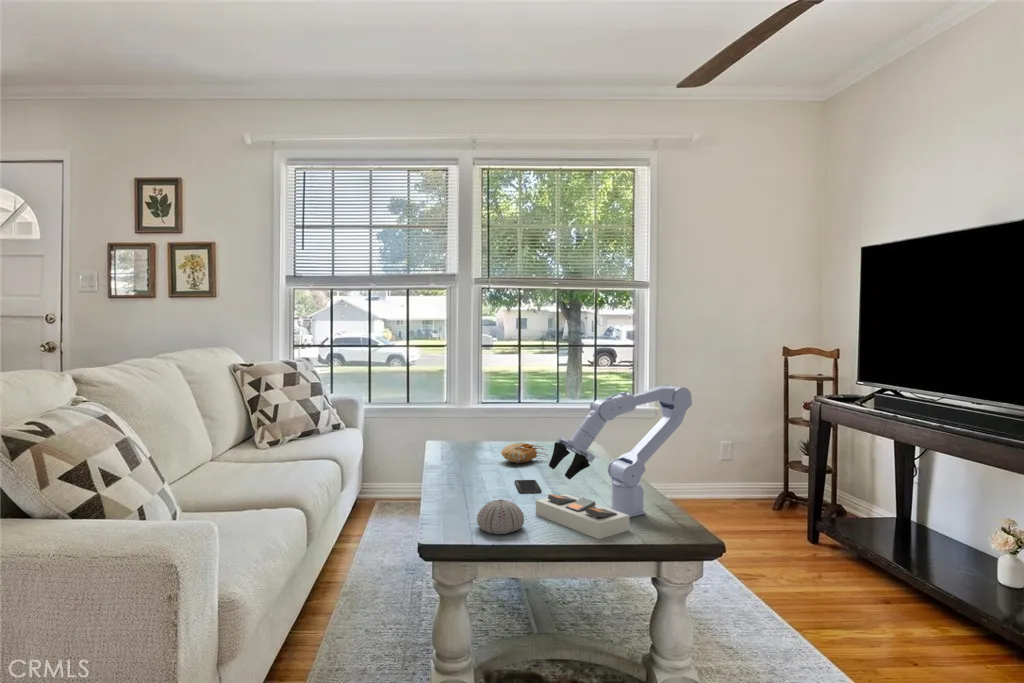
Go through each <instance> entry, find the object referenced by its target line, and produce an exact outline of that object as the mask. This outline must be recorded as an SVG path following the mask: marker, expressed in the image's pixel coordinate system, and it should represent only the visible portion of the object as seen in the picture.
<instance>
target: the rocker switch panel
mask: <svg viewBox="0 0 1024 683" xmlns="http://www.w3.org/2000/svg"><path fill="white" fill-rule="evenodd" d="M559 496H567V497H570V498H573V499H576V500H579V499H580V498H579V497H576V496H573V495H571V494H566V493H563V494H560V495H559ZM572 503H573V502H572ZM569 504H571V503H567V504H565V503H558V502H555V501H552V500H550V499H548V497H545V498H541V499H536V500H535V515H537V516H538V517H541V518H544V519H546V520H549V521H551V522H554V523H557V524H558V525H561V526H564V527H566V528H569V529H572V530H574V531H576V532H579V533H582V534H584V535H587V536H589V537H590V538H595V539H597V540H601V539H604V538H608V537H612V536H615V535H618V534H621V533H625V532H628V531H630V518H629V515H627V514H624V513H621V512H618V511H615V510H612V508H608V507H607V506H603V505H600V504H597V503H595V504H596V505H595V506H594V507H592V508H597V509H606V510H609V511H612V512H614V513H617V515H615V516H611V517H607V518H605V517H597V516H595V515H592V514H589V513H586V510H585V511H581V512H575V511H572V510H570V509H567V508H566V506H567V505H569Z"/></svg>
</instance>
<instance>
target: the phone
mask: <svg viewBox="0 0 1024 683" xmlns="http://www.w3.org/2000/svg"><path fill="white" fill-rule="evenodd" d="M514 485H515V487H516V490H517V492H518V494H541V493H542V488H541V487H540V485H539V484H538V482H537V480H536V479H518V480H517V479H515V480H514Z"/></svg>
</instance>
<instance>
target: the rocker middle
mask: <svg viewBox="0 0 1024 683" xmlns="http://www.w3.org/2000/svg"><path fill="white" fill-rule="evenodd" d="M596 504H597V503H596V501H595V500H591V499H590V498H589V499H588V498H586V497H581V498H579V500H577V501H575V502H573V503H571V504H569V505H567V506H566V508H567V509H570V510H572V511H575V512H581V511H585V510H586V508H592V507H594V506H595V505H596Z"/></svg>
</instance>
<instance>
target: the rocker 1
mask: <svg viewBox="0 0 1024 683" xmlns="http://www.w3.org/2000/svg"><path fill="white" fill-rule="evenodd" d="M547 498H548V499H550V500H552V501H555V502H558V503H565V504H567V503H572V502H575V501H577V500H576V499H573V498H570V497H567V496H559V495H557V494H548V496H547Z"/></svg>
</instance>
